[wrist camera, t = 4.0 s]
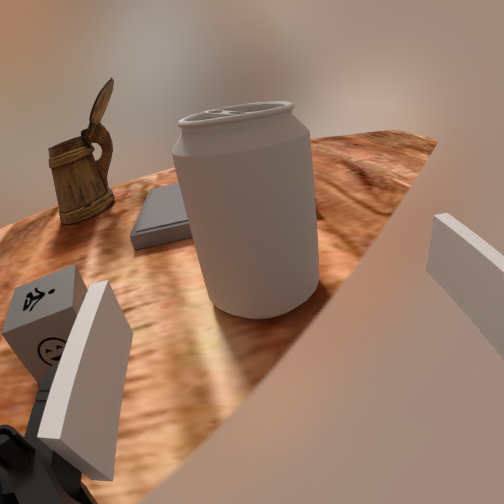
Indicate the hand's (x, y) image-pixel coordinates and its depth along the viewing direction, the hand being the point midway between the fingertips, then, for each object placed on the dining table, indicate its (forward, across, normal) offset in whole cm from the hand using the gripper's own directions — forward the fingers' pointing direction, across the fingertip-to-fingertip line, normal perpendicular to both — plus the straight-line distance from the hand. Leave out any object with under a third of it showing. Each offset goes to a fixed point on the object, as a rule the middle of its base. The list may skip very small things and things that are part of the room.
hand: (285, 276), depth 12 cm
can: (+8, 0, -7) cm, 10 cm away
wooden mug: (+35, -20, -7) cm, 41 cm away
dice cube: (+4, -14, -7) cm, 16 cm away
